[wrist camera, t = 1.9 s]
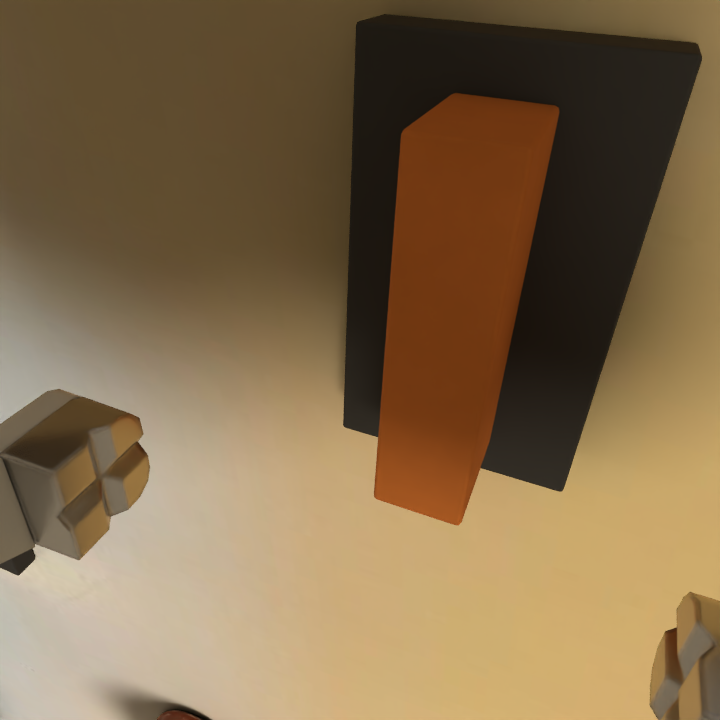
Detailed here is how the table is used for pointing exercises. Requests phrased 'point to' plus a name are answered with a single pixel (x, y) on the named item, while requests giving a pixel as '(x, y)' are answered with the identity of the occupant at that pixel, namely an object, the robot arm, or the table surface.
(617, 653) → the table surface
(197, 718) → the supplement bottle
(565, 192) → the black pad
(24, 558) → the base pad
